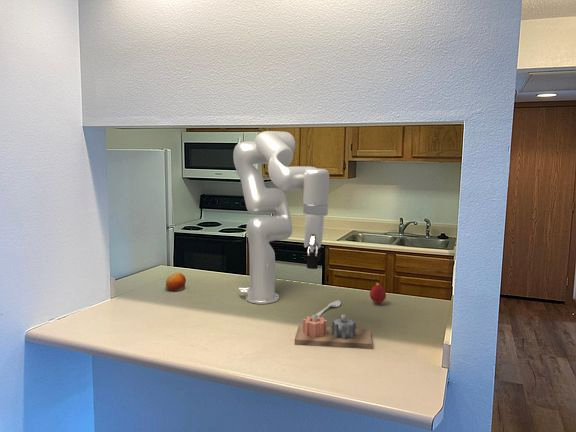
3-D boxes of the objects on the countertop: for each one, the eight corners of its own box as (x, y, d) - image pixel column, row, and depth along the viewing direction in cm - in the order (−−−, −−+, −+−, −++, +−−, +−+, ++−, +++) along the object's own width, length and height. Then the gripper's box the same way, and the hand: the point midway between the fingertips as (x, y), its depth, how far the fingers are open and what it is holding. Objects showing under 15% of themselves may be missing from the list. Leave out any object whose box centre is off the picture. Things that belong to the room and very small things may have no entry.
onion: (384, 301, 168) (385, 281, 167) (386, 307, 163) (387, 285, 162) (368, 301, 169) (369, 280, 168) (370, 306, 163) (370, 285, 162)
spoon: (343, 305, 166) (343, 301, 166) (314, 322, 149) (314, 317, 149) (333, 303, 168) (334, 299, 168) (303, 319, 151) (304, 315, 151)
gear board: (294, 344, 131) (294, 319, 130) (298, 329, 141) (298, 306, 140) (371, 348, 128) (372, 323, 127) (370, 333, 138) (370, 310, 137)
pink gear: (302, 336, 132) (302, 323, 132) (304, 327, 139) (304, 315, 139) (325, 338, 131) (325, 324, 131) (326, 329, 138) (327, 316, 138)
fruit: (188, 289, 179) (177, 272, 178) (171, 299, 180) (160, 282, 179) (192, 283, 187) (182, 267, 186) (176, 292, 188) (166, 276, 187)
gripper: (306, 205, 146) (305, 256, 149) (299, 213, 129) (298, 271, 132) (329, 206, 145) (327, 257, 148) (325, 214, 128) (323, 272, 131)
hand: (313, 264), depth 140 cm, fingers open, 9 cm apart
